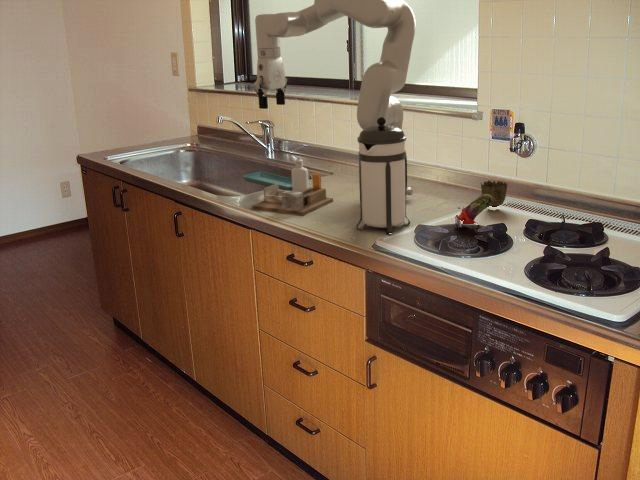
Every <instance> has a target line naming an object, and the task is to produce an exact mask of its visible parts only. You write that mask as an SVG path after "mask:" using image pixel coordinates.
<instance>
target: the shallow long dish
mask: <svg viewBox="0 0 640 480" xmlns="http://www.w3.org/2000/svg"><path fill="white" fill-rule="evenodd" d="M242 177H243V179H244V181H246V182H248V183H252V184H256V185H261V186H264V187H269V186H272V185H274V184H278V186H279V190H285V191H293V190H292V177H287V176H282V175H280V174H279V175H278V174H274V173H272V172H271V173H270V172H267V171H257V172H252V173H250V174H249V173H248V174H244V175H242ZM287 185H289V186H287Z"/></svg>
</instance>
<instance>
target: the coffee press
mask: <svg viewBox="0 0 640 480" xmlns="http://www.w3.org/2000/svg"><path fill="white" fill-rule="evenodd" d="M385 122H386V120H385V118H383V117H380V118H378V120H377V123H378V125H380V126H373V127H368V128H366V129H364V130H363V129H362V130H361V131H360V133H359V135H358V137H357V143H358V147H359V148H358V153H357V154H358V181H359V182H358V184H359V215H360V218H359V221H358V222H357V223H356V226H355V227H356V229H357V230H358V231H362V230H363V229H364V227H366V226H368V227H372V228H384V229H385V232H386V235H387V234H389V233H394V231H393V227H396V226H399V225H401V224H404V225H405V226H410V224H411V221H410V220H409V218H408V217H407V195H406V191H407V188H408V160H407V159H408V157H407V152H406V141H407V135H405V132H404V131H403V129H402V130H401V129H400V128H398V127H394V126H384V124H385ZM405 220H407V221H408V222H407V223H405ZM361 223H363V225H361V227H359V226H360V224H361ZM389 235H390V234H389Z"/></svg>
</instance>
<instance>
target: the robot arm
mask: <svg viewBox="0 0 640 480" xmlns="http://www.w3.org/2000/svg"><path fill="white" fill-rule="evenodd" d="M313 3H314V4H312V5H310V6H308V7H306V8H303V9H301V10H298V11H288V12H277V13H263V14H262V13H261V14H256V16H255V19H254V22H255V37H256V49H257V50H256V51H257V63H256V81H255V82H253V88H254V91H255V93H256V96H257V97H258V108H259V109H260V110H261V109H262V110H264V109H265V110H266V109H268V108H269V105H268V96H267V94H268V91H273V90H275V91H276V92H275V100H276V105H278V106H279V105H280V106H285V105H286V98H285V93H286V88H287V83H288V78H287V77H286V75H285V74H286V73H285V67H284V63H283V62H284V61H283V59H282V56H281V55H282V54H281V40H280V39H282V38H283V39H285V38H292V37H301V36H304V35H306V34H309V33H312V32H314V31H317V30H319V29H321V28H322V27H325V26H326V25H328V24H329V23H331V22H334V21H336V20H338V19H341V18H343V17H348V18H349V19H352V20H353V21H356V22H357V23H359V24H361V25H363V26H365V27H367V28H371V29H382V28H385V29H386V28H387V32H386V35H385V38H384V41H383V42H382V50H381V56H380V59H379V61H378V62H375V63H373V64H371V65H370V66H368V67H367V68H366V70H365V72H364V73H363V77H362V80H361V85H360V91H359V96H358V101H357V108H356V120H357V124H358V125H359V127H360V128H361V129H362V130H364V129H366V128H368V127H373V126H380V125H378V123H377V120H378V118H380V117H383V118H385V120H386V122H385V124H384V126H394V127H398V128H400V129H401V130H402V131H403V129H402V128H403V121H404V108H403V105H402V103H401V102H400V101H399V99H398V98H396V97H395V96H392V94H394V93H397V92H399V91H400V90H402V89H403V88H404V87H405V84H406V81H407V77H408V71H409V65H410V60H411V54H412V48H413V44H414V43H413V42H414V39H415V35H416V25H417V24H416V17H415V14H414V12H413V9H412V7H410V6H409V5H408V3H407V2H406V1H404V0H314V2H313ZM413 194H414V193H413V187H407V191H406V196H413Z"/></svg>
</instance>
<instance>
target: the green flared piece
mask: <svg viewBox="0 0 640 480" xmlns="http://www.w3.org/2000/svg"><path fill="white" fill-rule="evenodd" d="M480 190H481V195H483V194H488V195H491V196H492V204H491V206H492V207H497V206H501V205H503V203H504V202H505V200H506V198H507V197H506V196H507V192H508V191H507V190H508V182H506V181H503V180H501V181H500V180H497V182H496V181H495V180H493V181H491V180H487V181H483V183H482V182H481V183H480Z"/></svg>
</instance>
